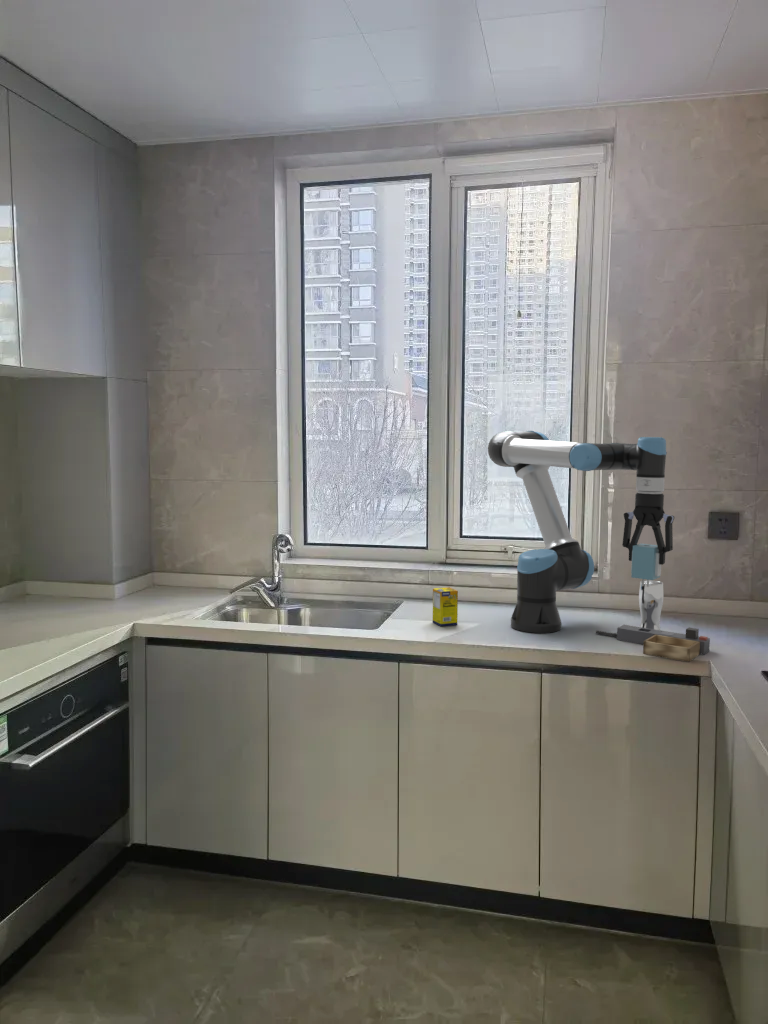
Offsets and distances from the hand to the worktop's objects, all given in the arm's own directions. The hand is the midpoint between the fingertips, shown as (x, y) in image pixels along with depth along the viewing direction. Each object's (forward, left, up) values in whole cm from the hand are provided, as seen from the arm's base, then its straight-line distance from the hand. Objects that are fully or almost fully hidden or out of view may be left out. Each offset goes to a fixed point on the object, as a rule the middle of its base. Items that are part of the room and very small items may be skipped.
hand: (645, 574), depth 216 cm
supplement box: (-56, -18, -20) cm, 62 cm away
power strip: (+2, 0, -20) cm, 20 cm away
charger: (0, 0, -3) cm, 3 cm away
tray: (+10, -8, -20) cm, 23 cm away
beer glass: (-3, +13, -20) cm, 24 cm away
